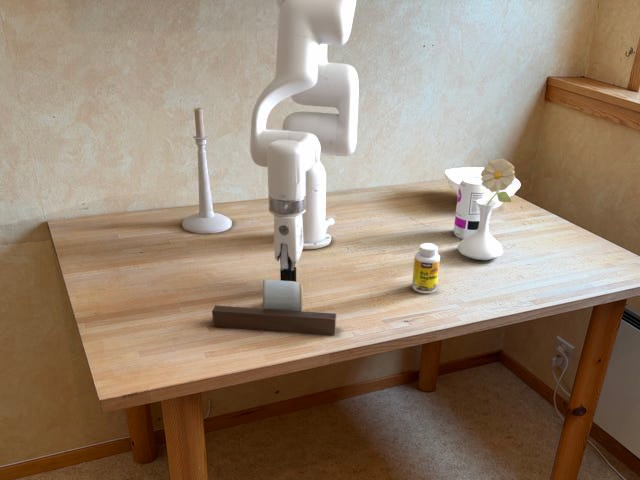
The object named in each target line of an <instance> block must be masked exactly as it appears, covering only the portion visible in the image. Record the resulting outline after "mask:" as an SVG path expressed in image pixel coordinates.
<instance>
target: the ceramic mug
mask: <svg viewBox="0 0 640 480" xmlns="http://www.w3.org/2000/svg"><path fill="white" fill-rule="evenodd" d="M262 309H275V310H290V311H304V286H303V284H302V283H301V282H299V281H296V282H295V281H281V279H280V280H279V279H268V278H265V279H263V280H262Z"/></svg>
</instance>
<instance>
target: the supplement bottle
mask: <svg viewBox="0 0 640 480" xmlns="http://www.w3.org/2000/svg"><path fill="white" fill-rule="evenodd" d="M438 248H439V247H438V246H437V245H436V244H434V243H430V242H424V243H421V244H420V245H419V248H418V252H416V253H415V254H414V260H413V261H414V262H413V272H412V274H413V275H412V280H411V281H412V282H411V287H412V289H413V290H414V291H415V292H417V293H421V294H430V293H434V292H435V291H437V288H438V279H439V270H440V262H441V255H439V253H438Z"/></svg>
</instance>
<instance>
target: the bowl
mask: <svg viewBox="0 0 640 480" xmlns="http://www.w3.org/2000/svg"><path fill="white" fill-rule="evenodd" d="M482 170H484V167H482V166H481V167H478V166H477V167H475V166H473V167H454V168H448V169H445V171H444V176H445V179H446V181H447V183H448V185H449V187H450V188H451V189H452V190H453V191H454V192H455V193H456V196H457V197H458V190H459V184H460V182H461V181H462V179H463V178H464V177H481V178H482V176H481V173H482ZM520 188H521V181H520V180H519V179H518V178H516V177H515V179H514V180H513V181H512V183H511V184H509V187H508V188H507V189H506V190H503V191H505V192H507V194H508V195H509V197H512V196H514V195H515V193H516V192H517V191H518V190H519V189H520ZM499 192H502V191H501V190H500V191H499ZM495 194H496V192H491V191H490V196H491V197H490V199H491V198H492V197H493V196H494V195H495ZM492 200H494V201H496V202H497V205H496V206H495V207H494V208H493V209H497V208H499V207H500V206H501V205H502V204H503V203H504V202H500V201H499V200H498V197H497V195H496V196H495V197H494V198H493V199H492Z"/></svg>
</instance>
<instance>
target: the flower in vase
mask: <svg viewBox="0 0 640 480" xmlns="http://www.w3.org/2000/svg"><path fill="white" fill-rule="evenodd" d="M483 168H484V170H482V173H481V176H482V178H481V180H482V181H483V182H482V183H481V184H482V185H483V187H485V188H486V189H489V191H491V192H496V194H495V195H494V196H493V197H492V198H491V199H479V200H477V201H476V202H477V204H478V206H479V210H480V221H479V227H478V229H477V231H476V232H474V233H473V234H471V235H469V236H468V237H466V238H464V239H461V240H460V241H459V243H458V244H457V249H458V252H459V253H460V254H461V255H463V256H465V257H467V258H470V259H473V260H477V261H478V260H479V261H489V260H495V259H497V258H500V257H501V256H502V255H503V253H504V249H503V246H502V245H501V244H500V242H499V241H498V240H497V239H496V238H495V237H493V235H492V234H491V233H490V231H489V221H490V217H491V214H492V212H493V210H494V209H495V208H494V207H495V206H496V205H497V202H496V201H494V200H492V199H493V198H494V197H495V196H496V195H497V197H498V200H499V201H500V202H503V203H512V200H511V196H509V195H508V194H507V192H505V191H503V190H506V189H507V188H508V187H509V184H511V183H512V181H513V180H514V179H515V178H516V171H515V166H514V165H513V164H512V163H511V162H509V161H508V160H506V159H504V157H501V158H499V159H498V158H495V159H494V160H489V161H488V163H487V164H485V165H484V167H483ZM479 188H480V186H479ZM480 189H481V188H480ZM500 190H501V191H502V192H499V191H500ZM481 191H482V192H484V193H485V194H487V195H488V196H489V197H491V196H490V195H489V194H488V193H487V192H486V191H484V190H483V189H481Z"/></svg>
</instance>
